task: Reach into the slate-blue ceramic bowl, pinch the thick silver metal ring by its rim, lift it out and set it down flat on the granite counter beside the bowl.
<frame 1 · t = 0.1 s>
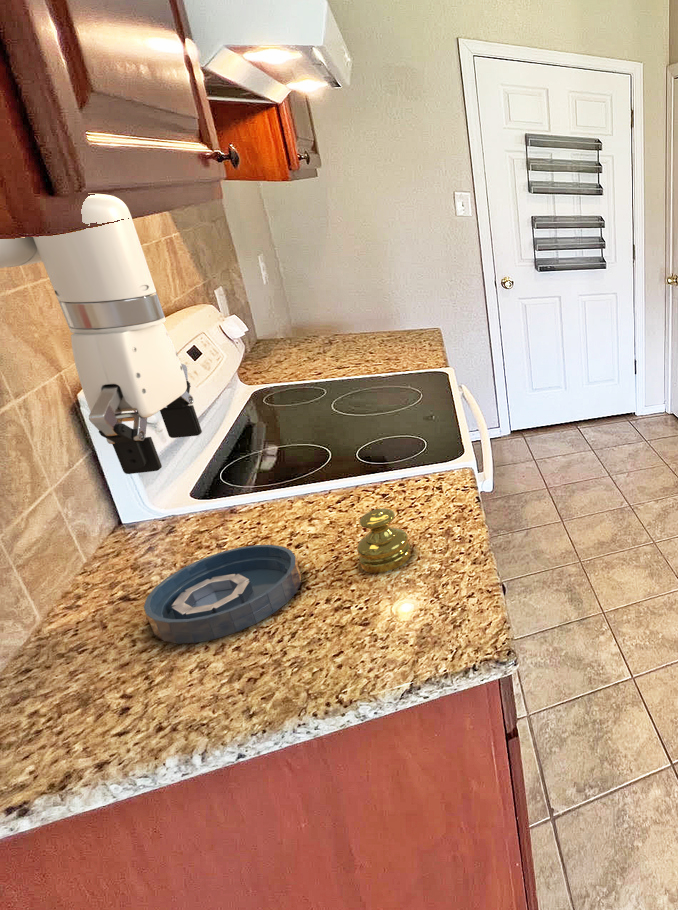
hand: (166, 452, 68), 29 cm above the counter, tool pointing down, fingers open, 9 cm apart
brass weight: (387, 563, 96), on the counter
bowl: (233, 603, 86), on the counter
ring: (215, 602, 85), point 1 cm above the counter, touching bowl
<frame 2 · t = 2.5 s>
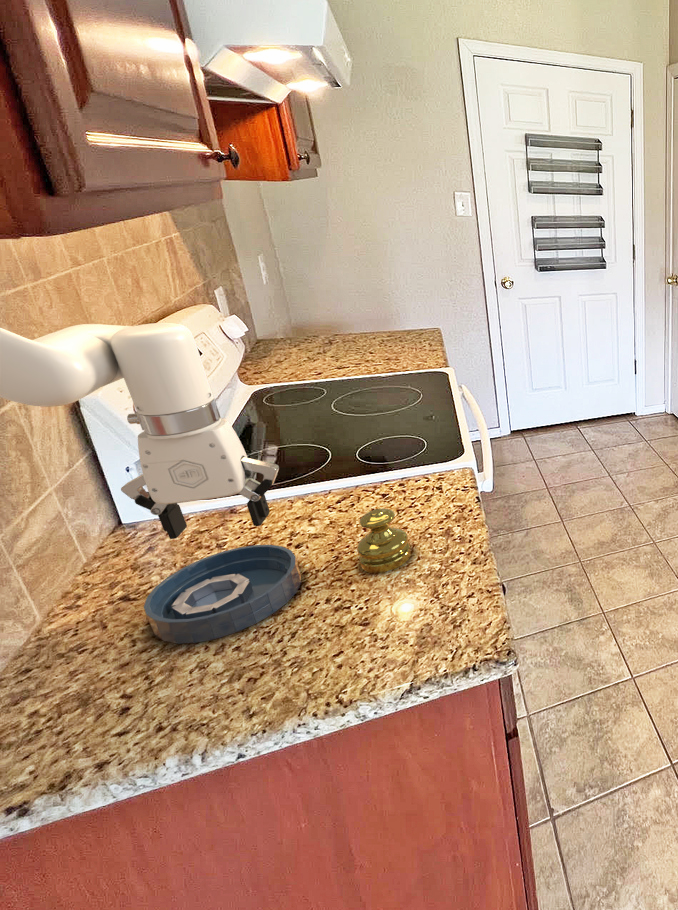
hand: (221, 527, 81), 13 cm above the counter, tool pointing down, fingers open, 9 cm apart
nothing on the counter moved.
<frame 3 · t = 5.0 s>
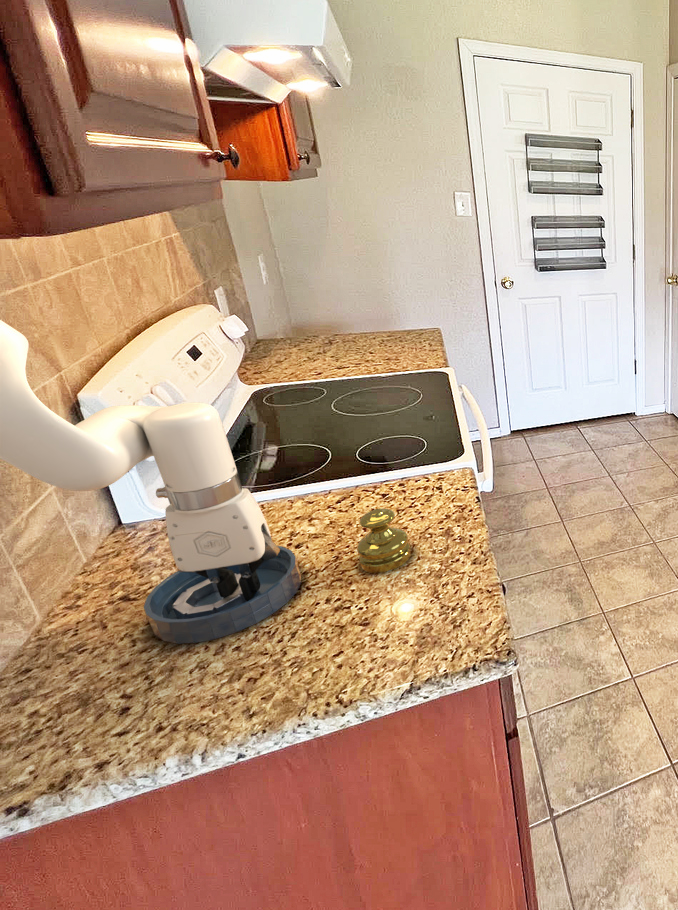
hand: (242, 595, 86), 1 cm above the counter, tool pointing down, fingers closed on ring, 1 cm apart
ring: (216, 602, 85), point 1 cm above the counter, touching bowl, gripper
everything else where it was.
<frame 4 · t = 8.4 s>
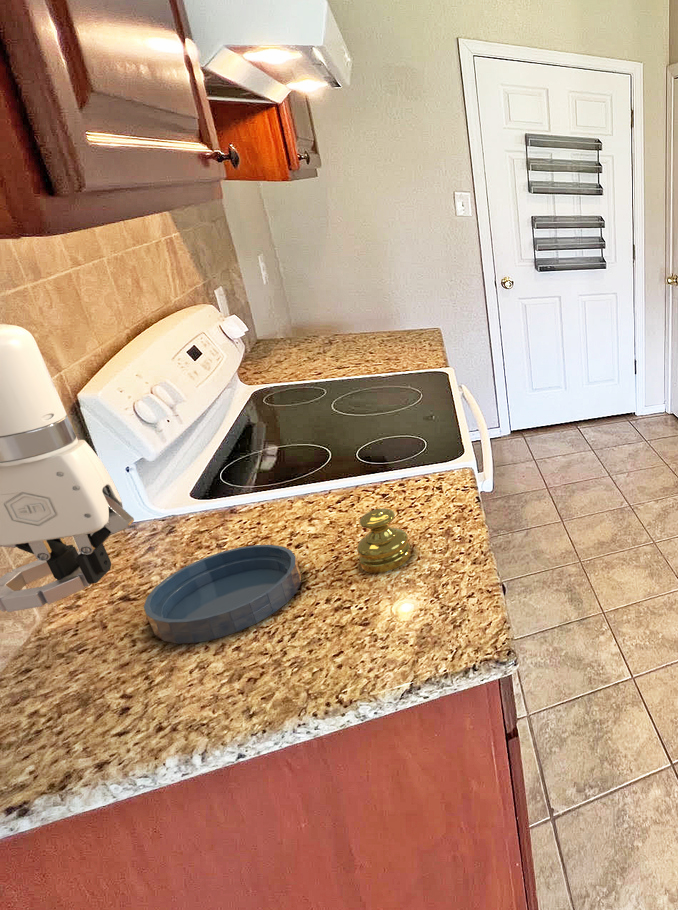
hand: (87, 577, 68), 15 cm above the counter, tool pointing down, fingers closed on ring
ring: (51, 585, 67), point 15 cm above the counter, touching gripper
everything else where it was.
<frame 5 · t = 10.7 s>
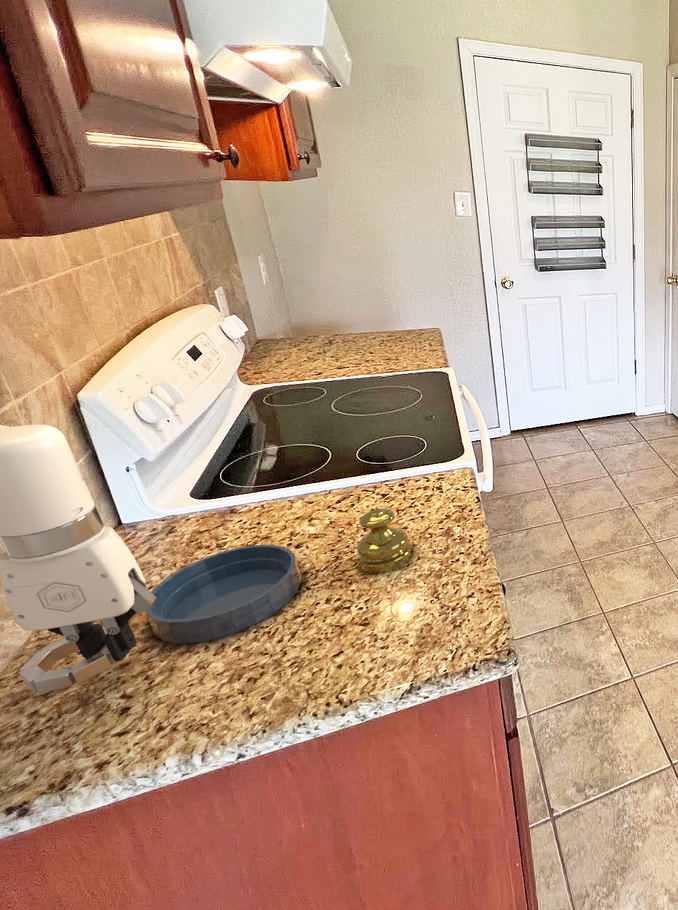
hand: (113, 654, 71), 4 cm above the counter, tool pointing down, fingers closed on ring
ring: (79, 663, 70), point 4 cm above the counter, touching gripper
everything else where it was.
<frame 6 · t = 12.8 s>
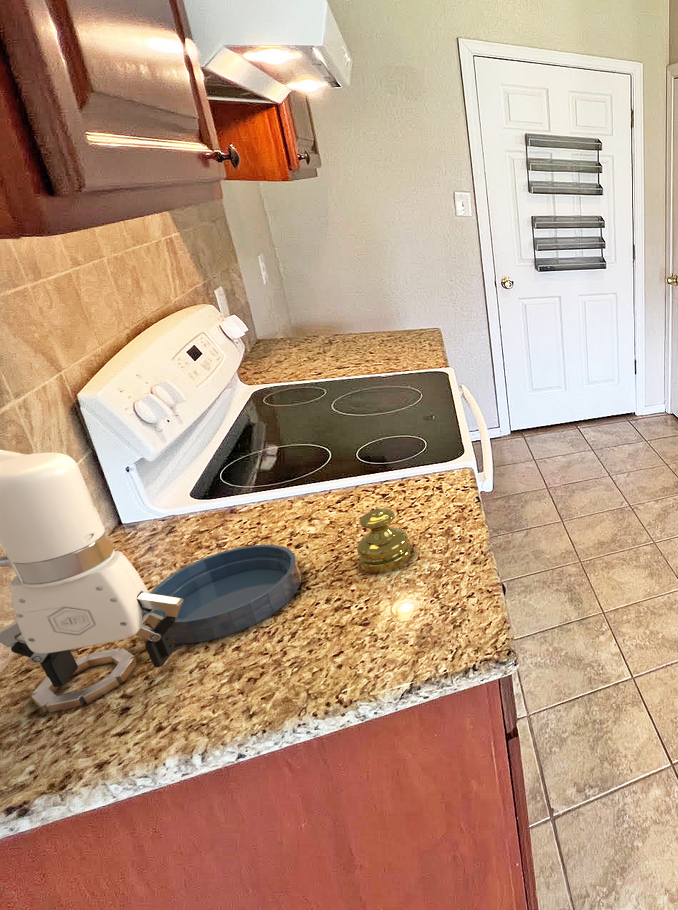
hand: (116, 668, 72), 2 cm above the counter, tool pointing down, fingers open, 9 cm apart
ring: (90, 685, 72), on the counter
everything else where it was.
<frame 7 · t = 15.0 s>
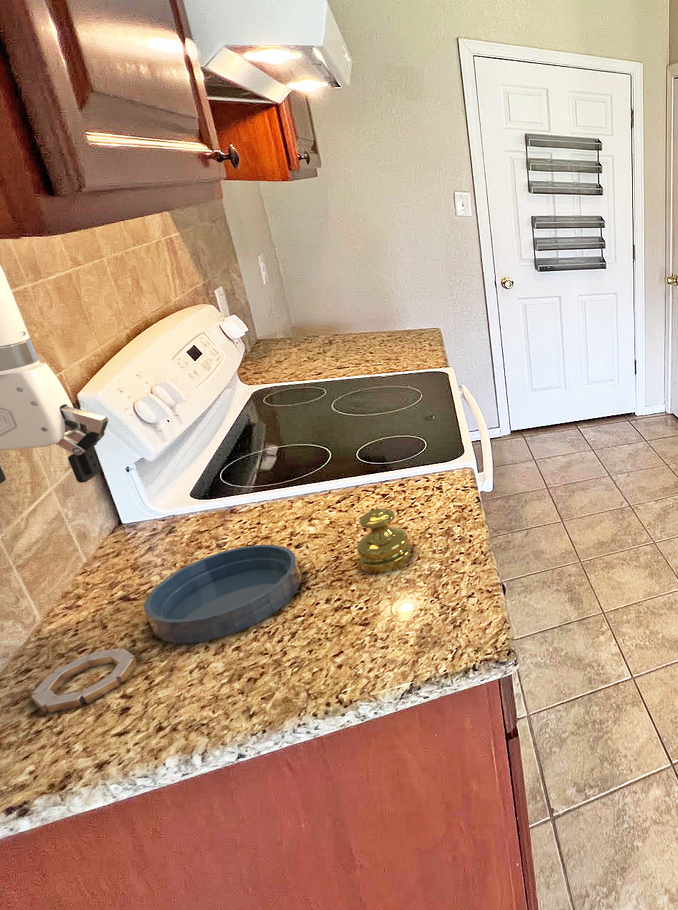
hand: (42, 482, 75), 22 cm above the counter, tool pointing down, fingers open, 9 cm apart
nothing on the counter moved.
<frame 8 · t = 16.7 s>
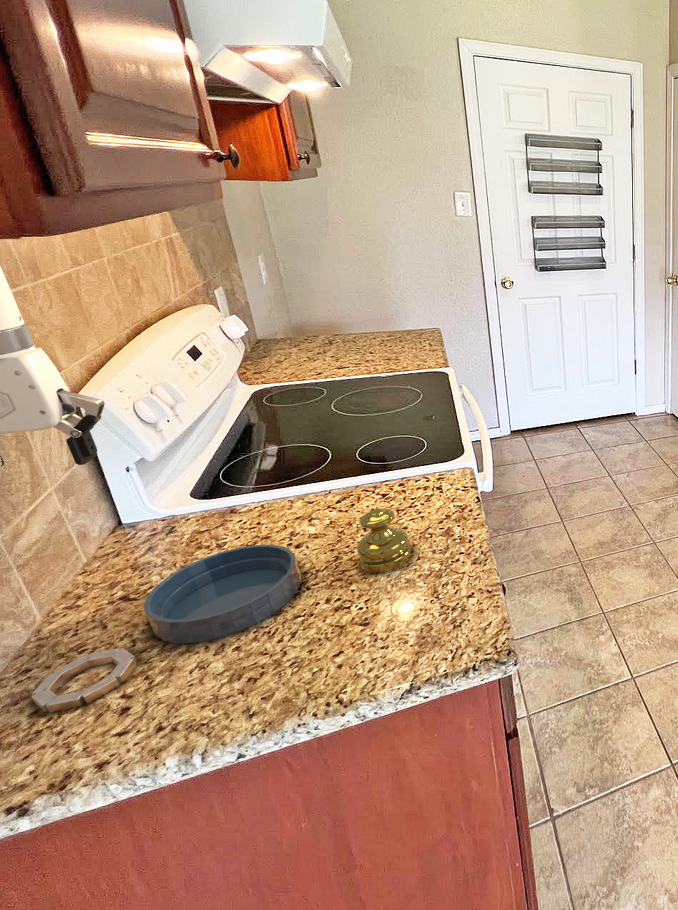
hand: (41, 465, 77), 23 cm above the counter, tool pointing down, fingers open, 9 cm apart
nothing on the counter moved.
at the end: ring inside the target area (0.3 cm from its centre), on the counter; ring tilted 0°; the gripper is holding nothing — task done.
